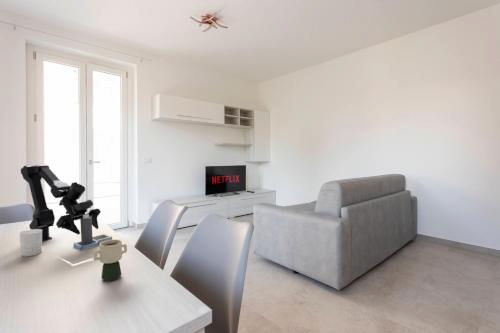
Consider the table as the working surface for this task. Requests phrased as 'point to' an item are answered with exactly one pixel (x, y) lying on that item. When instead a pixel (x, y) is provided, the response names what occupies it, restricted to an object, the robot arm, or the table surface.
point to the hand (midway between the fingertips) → (88, 231)
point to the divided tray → (96, 241)
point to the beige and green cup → (110, 258)
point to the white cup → (31, 242)
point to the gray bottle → (86, 230)
